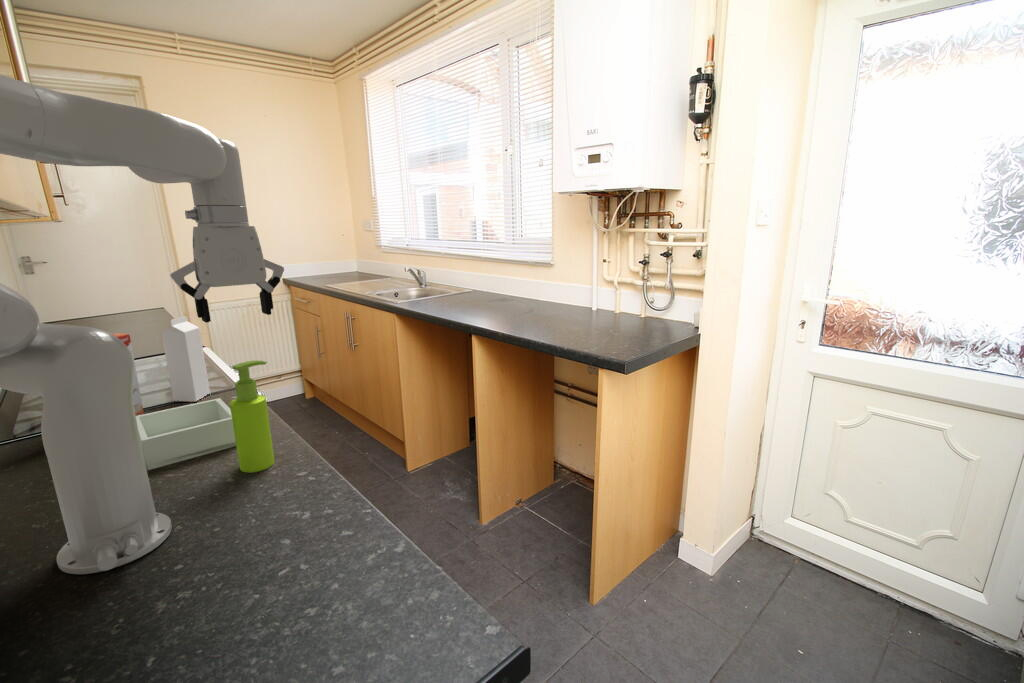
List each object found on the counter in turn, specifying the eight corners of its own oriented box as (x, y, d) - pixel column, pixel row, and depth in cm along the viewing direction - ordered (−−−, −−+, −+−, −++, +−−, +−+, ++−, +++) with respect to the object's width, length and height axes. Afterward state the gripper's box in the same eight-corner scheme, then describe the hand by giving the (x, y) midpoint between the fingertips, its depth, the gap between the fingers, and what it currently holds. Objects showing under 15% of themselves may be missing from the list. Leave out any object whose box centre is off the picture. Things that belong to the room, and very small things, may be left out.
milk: (173, 403, 124) (157, 320, 118) (189, 395, 129) (174, 315, 124) (197, 403, 124) (181, 319, 118) (211, 395, 129) (197, 315, 124)
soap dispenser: (286, 460, 92) (272, 360, 87) (250, 475, 86) (234, 370, 82) (268, 453, 95) (255, 356, 90) (233, 467, 89) (217, 365, 85)
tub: (242, 444, 99) (238, 417, 98) (147, 470, 89) (141, 440, 87) (223, 422, 111) (219, 398, 109) (137, 443, 100) (132, 416, 99)
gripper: (164, 217, 72) (184, 328, 76) (283, 217, 83) (295, 313, 87) (156, 218, 77) (175, 321, 81) (269, 218, 89) (281, 309, 93)
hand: (237, 317), depth 84 cm, fingers open, 9 cm apart
